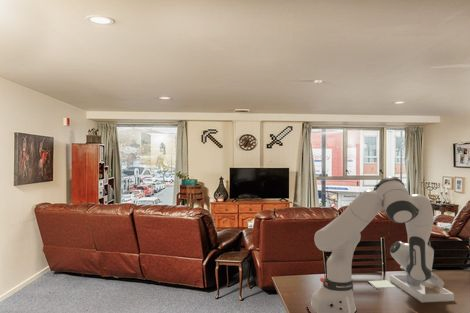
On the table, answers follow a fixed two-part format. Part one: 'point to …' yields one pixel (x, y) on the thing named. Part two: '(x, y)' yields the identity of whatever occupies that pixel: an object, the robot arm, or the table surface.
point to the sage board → (381, 284)
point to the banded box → (430, 289)
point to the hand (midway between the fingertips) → (433, 285)
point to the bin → (421, 290)
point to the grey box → (412, 281)
